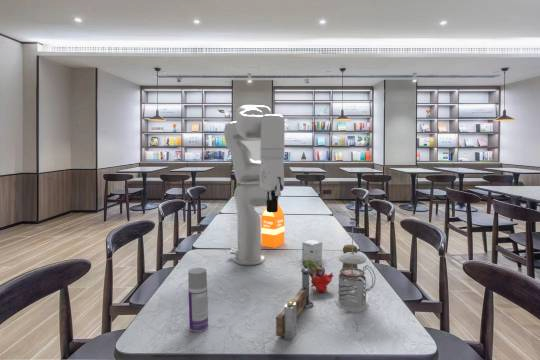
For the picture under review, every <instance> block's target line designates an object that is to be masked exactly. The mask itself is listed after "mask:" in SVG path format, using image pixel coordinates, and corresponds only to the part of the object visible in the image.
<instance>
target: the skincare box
mask: <svg viewBox="0 0 540 360" xmlns="http://www.w3.org/2000/svg"><path fill="white" fill-rule="evenodd" d="M301 246H302V247H301V259H302V260H306V259H310V260H312V261H313V262H314V263H315V262H319V261H320V260H322V259H323V242H322V241H319V240H315V239H308V240H305V241H302V242H301Z"/></svg>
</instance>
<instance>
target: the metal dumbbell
mask: <svg viewBox="0 0 540 360" xmlns="http://www.w3.org/2000/svg"><path fill="white" fill-rule="evenodd" d="M300 272H301V273H302V274H301V278H302V279H301V281H302V282H301V283H302V284H301V287H302V289H306V305H305V307H304V308H303V309H311V308H313V307H314V303H313V301H311V300H310V275H309V273H310V269H308V268H304V267H303V268H301V270H300Z"/></svg>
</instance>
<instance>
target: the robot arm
mask: <svg viewBox="0 0 540 360" xmlns="http://www.w3.org/2000/svg"><path fill="white" fill-rule="evenodd" d="M285 121H286V120H285V117H284V115H282V114H273V111H272V110H271V108H270V107H269V106H267V105H258V104H257V105H256V104H244V105H241V106H239V107H238V108H237V110H236V112H235V121H230V122H228V123H226V124H225V126H224V129H223V136H224V137H223V138H224V142H225V144H226V147H227V149H228V150H229V152H230V155H231V158H232V160H231V161H232V166H233V173H234V177H235V180H236V182H237V183H239V184H240V185H238V186H237V187H236V188H235V189H234V193H233V194H234V200H235V201H234V202H235V207H236V222H237V223H236V226H237V229H236V231H237V233H236V234H237V248H235V247H231V248H230V251H229V254H230V255H235V256H234V258H233V261H234V263H236V264H237V265H240V266H255V265H259V264H262V263H264V262H265V260H266V259H265V258H266V257H265V256H264V254H263V255H262V233H261V228H262V226H261V216H260V214H259V213H258V212H257V211H256V209H255V208H262V207H267V212H269V213H272V212H277V211H278V204H279V197H281V194H282V191H284V189H285V167H284V166H285V165H284V160H285V128H286V127H285ZM243 142H259V143H260V150H259V151H260V153H259V155H260V157H259V158H260V160H253V154H252V151H251V150H250V149H249V148H248V146H247V145H245V144H244V143H243Z"/></svg>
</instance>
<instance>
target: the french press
mask: <svg viewBox="0 0 540 360" xmlns="http://www.w3.org/2000/svg"><path fill="white" fill-rule="evenodd" d="M349 225H352V227H351V228H352V229H351V230H352V235H351V240H352V241H351V245H352V252H348V253H341V254H340V255H339V256H337V258H338V260H339V261H340V262H341V263H342V264H343V263H347V264H352V268H343V269H342V268H340V269H339V274H338V297H337V299H335V301H334V305H335V306H336V307H337V308H338V309H341V310H343V311H347V312H353V313H354V312H355V313H357V312H364V311H366V310H368V309H369V307H370V304H369V303H368V301H367V292H369V291H371V290H372V289H374V287H375V285H376V281H374V280H377V279H376V274H375V271H374V269H373V268H372V267H370V265H368V264H366V265H365V266H363V267H362V268H361V269H360V268H358V269H357V268H353V264H357V265H362V264H365V263H366V262H367V259H368V258H367V257H365V256H364V255H363V254H361V253H358V252H357V253H355V252H353V245H354V225H357V222H356V220H354V219H351V220H349ZM366 270H367V271H368V272H369V273H370V275H371V279H372V281H371V285H370V288H368V289H367V285H366V284H367V277H366V275H365V274H366V272H365V271H366ZM370 270H371V271H370ZM372 273H373V274H372ZM373 275H374V277H373ZM356 277H357V278H356ZM360 278H362V279H360ZM351 279H353V280H351ZM347 280H348V281H347ZM353 287H354V288H353Z"/></svg>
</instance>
